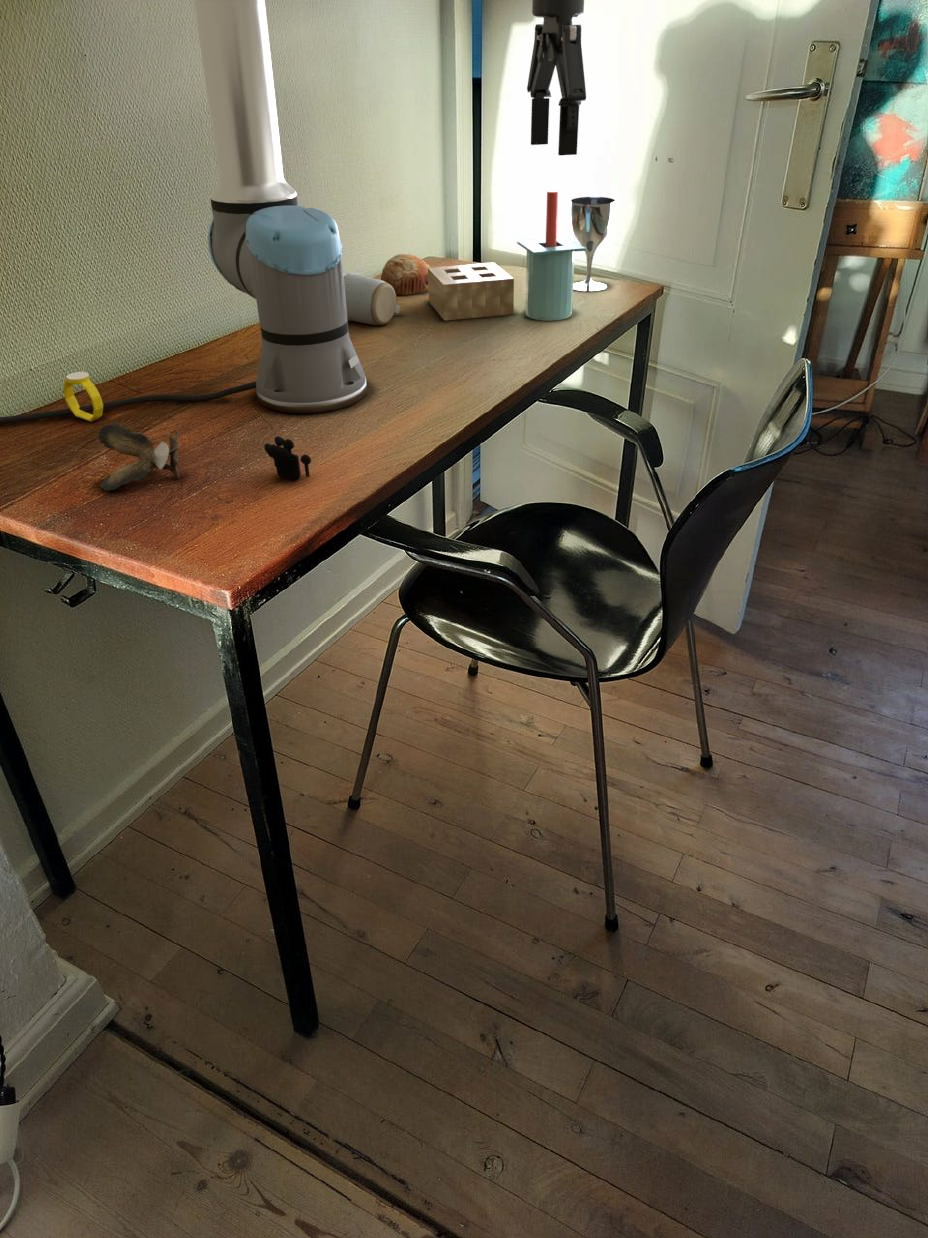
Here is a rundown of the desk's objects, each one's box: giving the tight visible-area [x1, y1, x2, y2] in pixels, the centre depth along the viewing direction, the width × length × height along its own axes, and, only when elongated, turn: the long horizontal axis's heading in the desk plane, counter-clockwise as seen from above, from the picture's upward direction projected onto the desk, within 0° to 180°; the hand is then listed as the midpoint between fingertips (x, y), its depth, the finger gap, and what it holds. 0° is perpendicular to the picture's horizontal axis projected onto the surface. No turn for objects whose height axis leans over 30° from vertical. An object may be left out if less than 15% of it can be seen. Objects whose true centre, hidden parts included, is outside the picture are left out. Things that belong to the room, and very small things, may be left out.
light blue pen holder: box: [525, 244, 576, 322], centre depth 153 cm, size 8×8×11 cm
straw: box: [545, 189, 559, 247], centre depth 150 cm, size 2×2×19 cm
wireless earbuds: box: [264, 435, 312, 482], centre depth 102 cm, size 7×2×5 cm, turn 55°
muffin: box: [380, 253, 431, 296], centre depth 171 cm, size 10×10×8 cm
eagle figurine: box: [96, 422, 180, 492], centre depth 102 cm, size 8×7×9 cm
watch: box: [62, 371, 104, 423], centre depth 118 cm, size 6×3×6 cm, turn 58°
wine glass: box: [569, 196, 616, 292], centre depth 166 cm, size 8×8×15 cm
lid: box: [516, 236, 586, 255], centre depth 150 cm, size 9×9×1 cm
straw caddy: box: [427, 262, 515, 321], centre depth 158 cm, size 12×12×6 cm
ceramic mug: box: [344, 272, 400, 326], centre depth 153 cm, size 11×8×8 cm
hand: (552, 149), depth 141 cm, fingers open, 13 cm apart
